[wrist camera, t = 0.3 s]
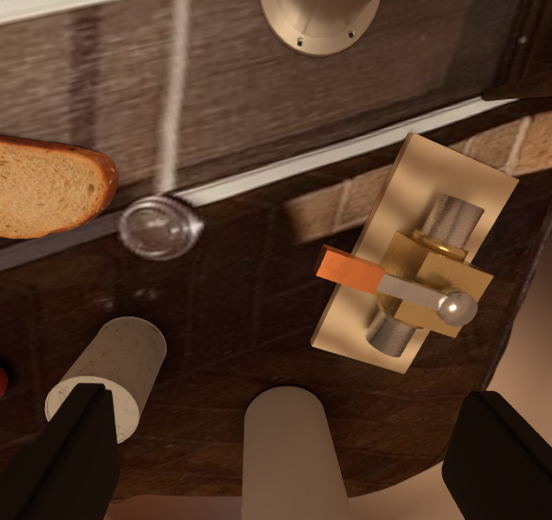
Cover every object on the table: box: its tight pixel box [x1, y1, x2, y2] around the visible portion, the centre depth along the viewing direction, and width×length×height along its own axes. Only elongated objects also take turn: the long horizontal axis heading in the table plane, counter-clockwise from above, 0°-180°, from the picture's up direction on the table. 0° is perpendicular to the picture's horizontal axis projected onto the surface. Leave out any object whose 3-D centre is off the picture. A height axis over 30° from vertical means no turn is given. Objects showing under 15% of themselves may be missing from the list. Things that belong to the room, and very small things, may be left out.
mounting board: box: [310, 133, 519, 374], centre depth 45 cm, size 30×15×2 cm, turn 159°
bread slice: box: [0, 136, 119, 239], centre depth 37 cm, size 18×18×4 cm
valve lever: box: [313, 244, 477, 327], centre depth 33 cm, size 17×4×2 cm, turn 69°
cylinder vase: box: [242, 386, 353, 520], centre depth 41 cm, size 12×12×25 cm
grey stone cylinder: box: [45, 317, 167, 443], centre depth 41 cm, size 10×10×12 cm
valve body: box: [365, 193, 493, 357], centre depth 40 cm, size 20×8×10 cm, turn 159°
